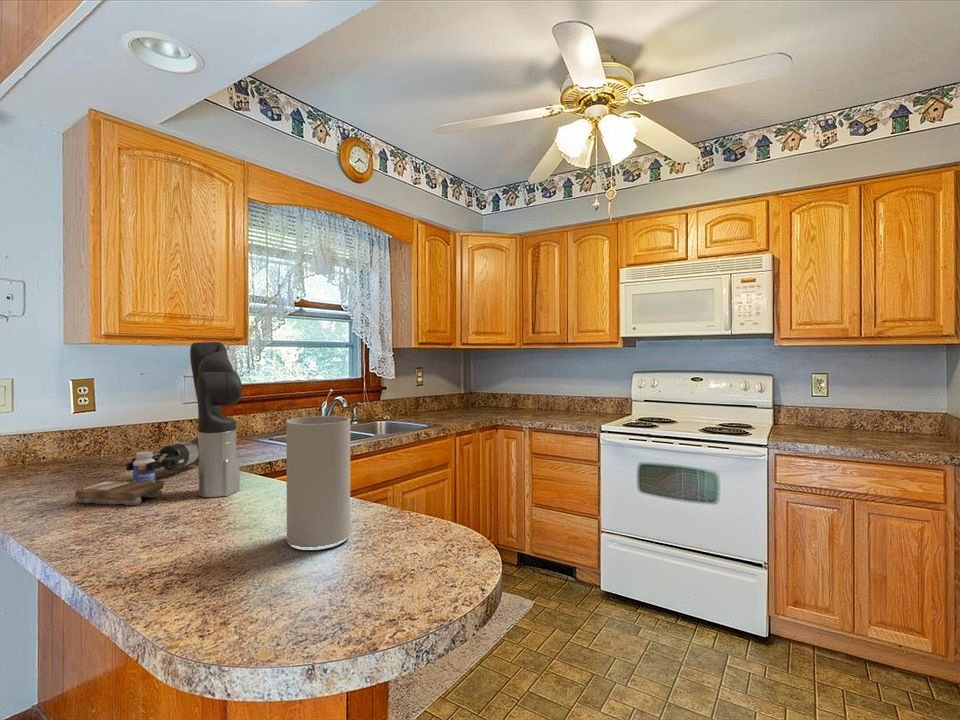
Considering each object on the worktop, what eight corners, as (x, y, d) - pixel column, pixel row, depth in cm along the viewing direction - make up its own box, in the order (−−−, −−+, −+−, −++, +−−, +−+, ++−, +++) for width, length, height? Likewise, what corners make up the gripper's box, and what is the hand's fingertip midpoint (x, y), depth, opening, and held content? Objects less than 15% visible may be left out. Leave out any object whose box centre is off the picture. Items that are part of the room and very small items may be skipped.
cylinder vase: (286, 533, 108) (286, 417, 107) (346, 527, 112) (346, 415, 112) (286, 556, 96) (286, 425, 96) (353, 547, 100) (353, 422, 100)
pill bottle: (137, 489, 141) (136, 455, 141) (130, 486, 144) (129, 452, 144) (158, 485, 145) (158, 452, 145) (151, 482, 148) (151, 449, 148)
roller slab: (163, 495, 135) (162, 481, 135) (133, 507, 126) (133, 492, 125) (108, 493, 137) (108, 480, 137) (75, 504, 127) (75, 490, 127)
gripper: (157, 442, 159) (113, 453, 143) (200, 443, 158) (160, 454, 141) (157, 466, 160) (113, 479, 143) (200, 467, 158) (160, 481, 141)
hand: (137, 467), depth 142 cm, fingers closed on pill bottle, 5 cm apart
